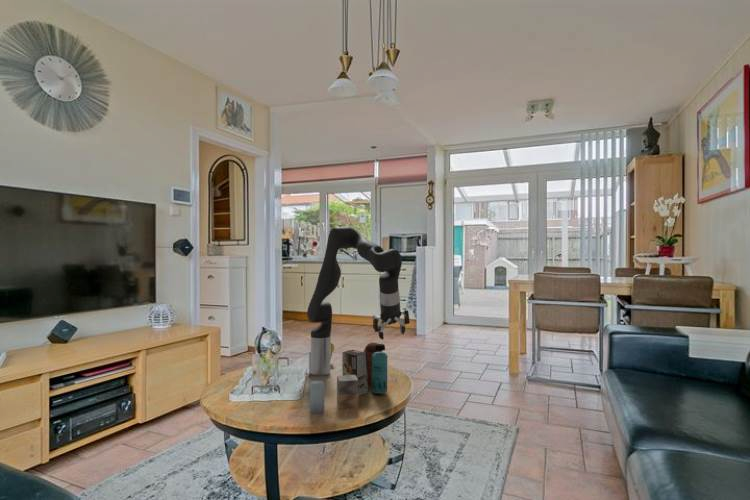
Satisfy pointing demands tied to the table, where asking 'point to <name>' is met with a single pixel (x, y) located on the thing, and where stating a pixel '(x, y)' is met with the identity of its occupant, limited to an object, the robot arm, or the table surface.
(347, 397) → the tower base
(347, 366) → the coffee box
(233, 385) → the table surface
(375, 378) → the beverage bottle
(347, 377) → the tower top
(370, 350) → the wooden figurine
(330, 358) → the plant pot
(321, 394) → the dowel
